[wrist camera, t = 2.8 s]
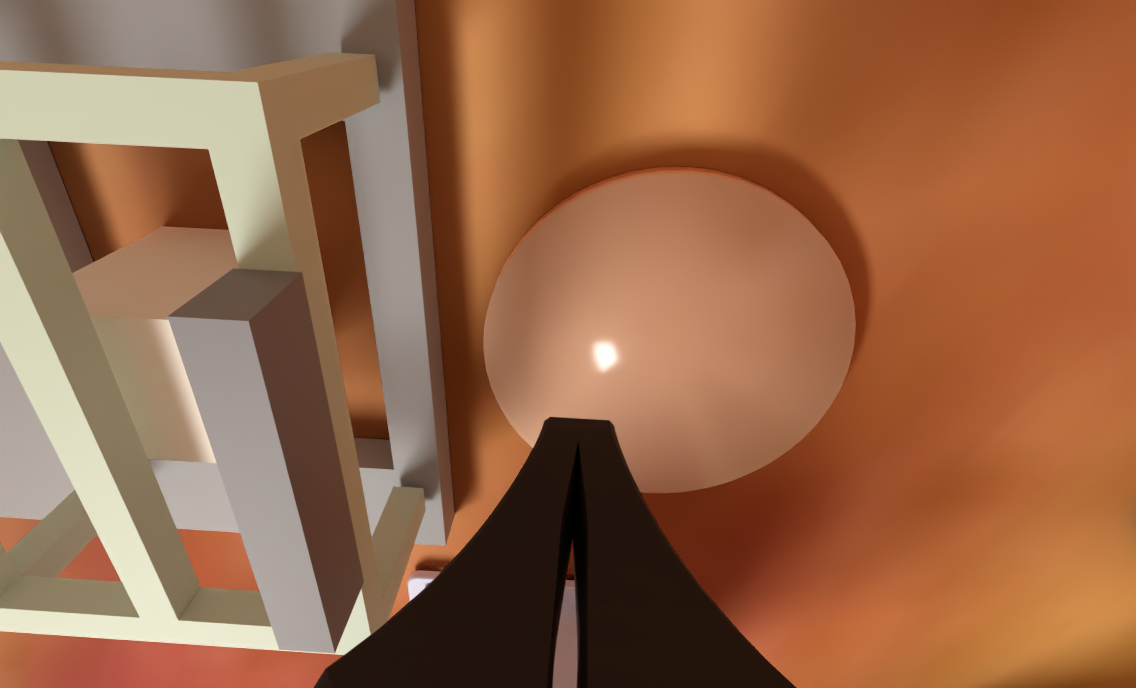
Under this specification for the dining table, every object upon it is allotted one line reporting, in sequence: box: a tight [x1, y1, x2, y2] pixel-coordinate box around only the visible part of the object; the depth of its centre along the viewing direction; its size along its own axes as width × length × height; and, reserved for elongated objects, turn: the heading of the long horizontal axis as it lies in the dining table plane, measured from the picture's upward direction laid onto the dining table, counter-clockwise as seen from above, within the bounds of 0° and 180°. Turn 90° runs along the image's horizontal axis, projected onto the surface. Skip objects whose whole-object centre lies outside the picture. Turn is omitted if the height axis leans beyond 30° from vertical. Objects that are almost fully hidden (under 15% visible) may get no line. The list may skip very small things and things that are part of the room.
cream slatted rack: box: [0, 52, 426, 655], centre depth 14 cm, size 11×14×7 cm
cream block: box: [72, 226, 239, 463], centre depth 16 cm, size 4×4×6 cm
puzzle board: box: [0, 0, 455, 546], centre depth 18 cm, size 23×18×2 cm
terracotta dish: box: [483, 167, 856, 493], centre depth 18 cm, size 11×11×1 cm
